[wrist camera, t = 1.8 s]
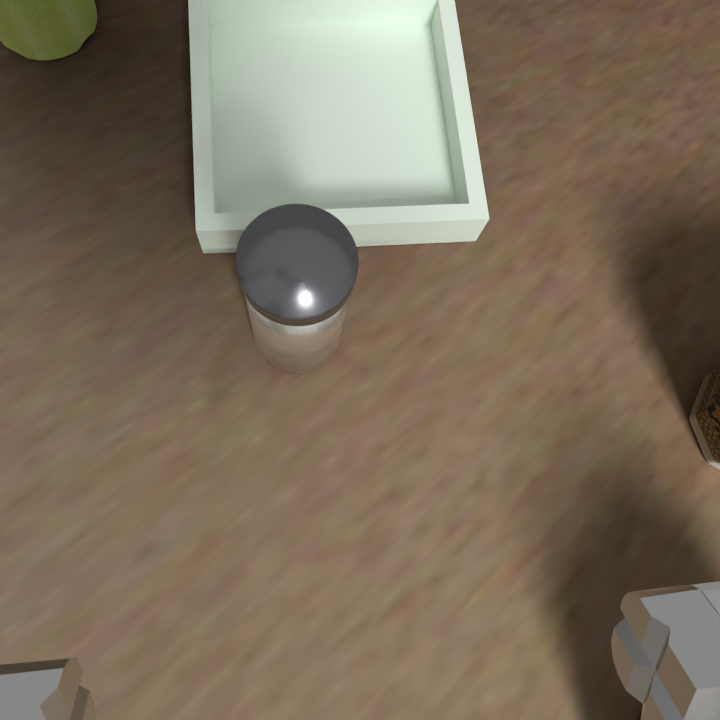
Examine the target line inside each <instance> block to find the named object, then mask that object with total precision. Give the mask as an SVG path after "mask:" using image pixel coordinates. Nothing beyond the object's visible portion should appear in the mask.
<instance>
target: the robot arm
mask: <svg viewBox="0 0 720 720" xmlns="http://www.w3.org/2000/svg"><path fill="white" fill-rule="evenodd" d="M620 609H621V611H622V613H623V615H624V617H625V618H624V619H623V620H622V621H620V622H619V623H618V624H617V625H616V626H615V627H614V630H613V634H612V639H611V648H612V657H613V662H614V665H615V668H616V671H617V674H618V676H619V678H620V680H621V682H622V684H623V686H624V688H625V690H626V691H627V692H628V693H630V694H631V695H632V696H633V697H635V698H636V699H637V700H639V701H640V702H641V703H643V707H642V714H641V720H720V581H716V582H708V583H701V584H694V585H687V584H685V585H677V586H670V587H662V588H655V589H647V590H640V591H633V592H629V593H627V594H626V595H625V596H624V597H623V599H622V602H621V605H620ZM81 676H82V669H81V667H80V665H79V663H78V660H77V658H76V657H75V658H65V659H55V660H44V661H34V662H24V663H14V664H4V665H0V720H95V710H94V702H93V699H92V696H91V693H90V691H89V690H87V689H85V688H84V687H82V686H80V685H79V683H80V679H81Z"/></svg>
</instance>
